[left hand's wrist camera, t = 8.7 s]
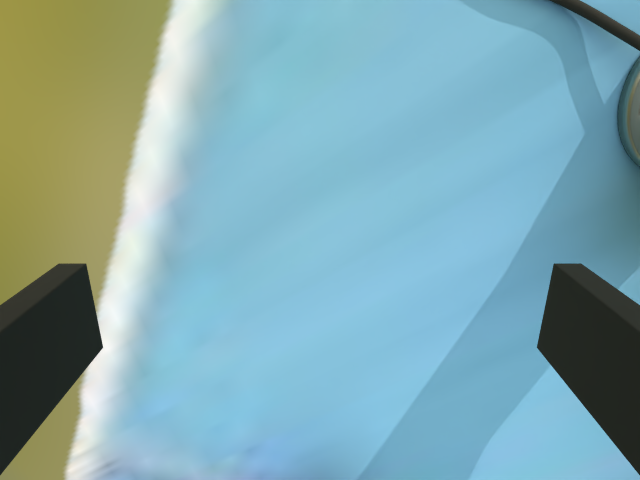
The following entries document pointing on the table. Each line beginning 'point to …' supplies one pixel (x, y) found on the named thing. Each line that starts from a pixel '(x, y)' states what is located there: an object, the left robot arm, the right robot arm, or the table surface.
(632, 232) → the table surface
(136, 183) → the table surface
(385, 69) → the table surface
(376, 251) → the table surface
